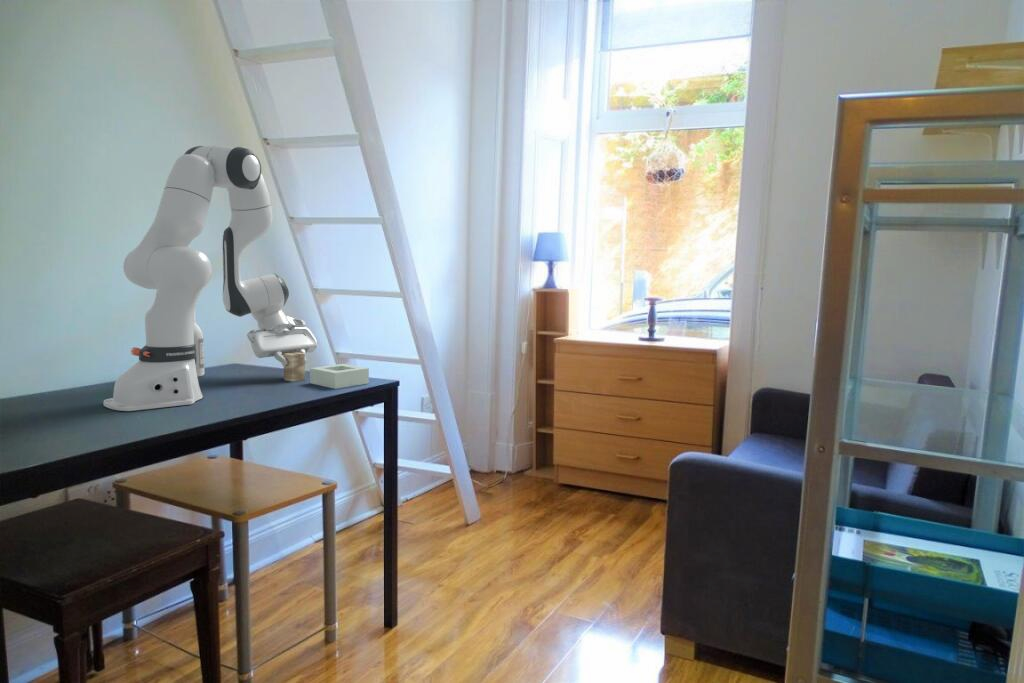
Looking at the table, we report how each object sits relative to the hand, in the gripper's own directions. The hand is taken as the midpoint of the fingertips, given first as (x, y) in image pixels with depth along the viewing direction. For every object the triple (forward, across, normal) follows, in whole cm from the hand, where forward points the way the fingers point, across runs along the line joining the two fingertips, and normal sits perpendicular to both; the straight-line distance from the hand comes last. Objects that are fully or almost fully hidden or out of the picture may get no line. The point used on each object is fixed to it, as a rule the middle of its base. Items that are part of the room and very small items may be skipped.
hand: (295, 363), depth 212 cm
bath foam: (-16, -18, +23) cm, 33 cm away
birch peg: (+3, 0, +4) cm, 5 cm away
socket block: (+13, +6, -6) cm, 15 cm away
